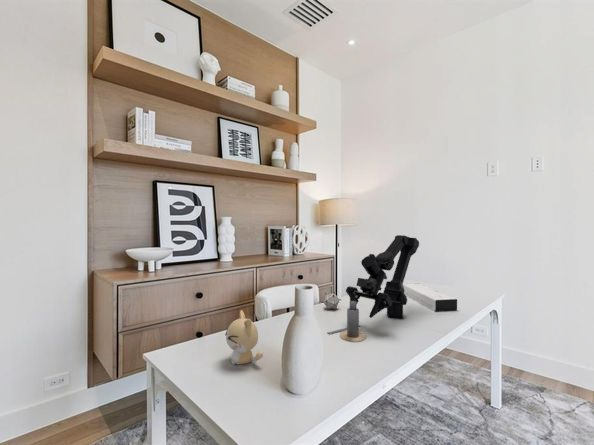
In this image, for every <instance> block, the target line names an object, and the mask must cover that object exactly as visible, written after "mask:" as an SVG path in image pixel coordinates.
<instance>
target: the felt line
mask: <svg viewBox="0 0 594 445" xmlns="http://www.w3.org/2000/svg"><path fill="white" fill-rule="evenodd" d="M360 327H361V326H360V325H359V328H360ZM344 331H347V327H344V328H339V329H336V330H333V331H329V332H327V335H329V336H330V335H334V334H337V333H341V332H344Z"/></svg>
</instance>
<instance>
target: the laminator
mask: <svg viewBox="0 0 594 445" xmlns="http://www.w3.org/2000/svg"><path fill="white" fill-rule="evenodd" d="M403 287H404V290H405V291H404V294H405V296H406V297H407V299H411V300H412V301H413V302H414V301H415V302H416V303H418V304H420V305H421V306H424V307H425V308H427V309H429V310H430V311H432V312H434V313H435V312H437V313H438V312H452V311H453V312H457V310H458V299H457V298H455V297H452V296H450V295H448V294H445V293H443V292H441V291H438V290H436V289H435V288H434V289H433V288H431V287H429V286H426V285H424V284H422V283H403Z"/></svg>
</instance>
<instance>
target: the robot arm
mask: <svg viewBox="0 0 594 445" xmlns="http://www.w3.org/2000/svg"><path fill="white" fill-rule="evenodd" d="M419 247H420V241H419V240H418V238H417V237H409V236H408V235H407V236H406V235H402V234H401V235H400V234H397V235H395V237H394V239H393V240H392V242H391V243H390V244H389V246H388V247H387V248H386V250H384V251H383V252H381V253H378V254H377V255H375V253H374V254H373V253H369V254H368V255H367V256H365V257H364V258H362V260H361V261H360V262H361V265H362V267H363V268H364V271H365V272H366V274H368V275H369V276H368V278H362V277H357V282H356V284H355V285H356V287H355V286H350V285H349V286H347V287H346V289H345V292H346V294H347V295H348V297H349V302H350V301H356V302H357V304H358V303H359V299H361V298H365V299H370V300H374V304H373V306H372V309H371V311H370V313H369V316H368V317H369V318H370V319H372V318H373V317H374V316H375V315H377V314H378V313H380V312H382V311H383V310H385V309H386V315H387V317H388V318H391V319H399V320H400V319H401V320H403V319H404V306H406V305H407V303H408V297H407V296H405V294H404V291H405V290H404V287H403V284H404V281H405V278H406V274H407V271H408V268H409V264H410V261H411V257H412V256H413V255H415V254H416V253H417V251H418V248H419ZM399 253H400V254H399ZM397 255H399V257H398V261H397V263H396V266H395V270H394V273H393V275H392V279H391V280H389V281H386V282H385V287H384V288H382V285H383V281H384V280H387V279H388V277H387V273H386V272H385V271H391V270H392V269H393V267H394V265H395V259H396V256H397ZM357 287H359V289H360V290H361V291H359V290H358V288H357ZM382 289H384V290H383V292H379V291H382Z"/></svg>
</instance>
